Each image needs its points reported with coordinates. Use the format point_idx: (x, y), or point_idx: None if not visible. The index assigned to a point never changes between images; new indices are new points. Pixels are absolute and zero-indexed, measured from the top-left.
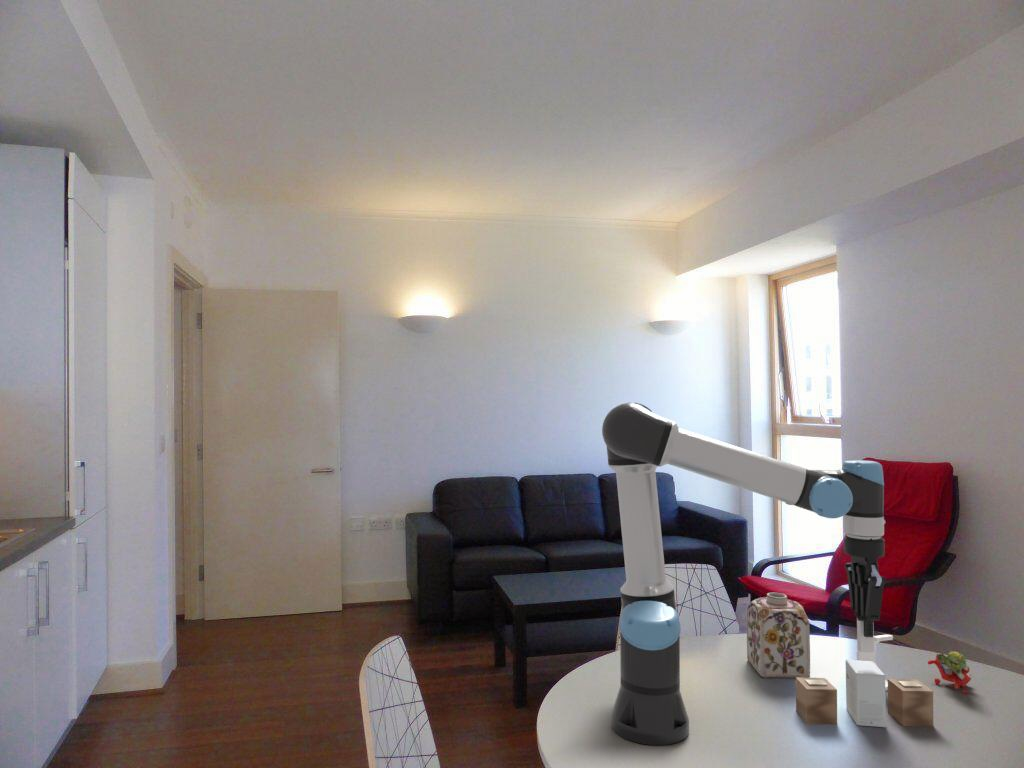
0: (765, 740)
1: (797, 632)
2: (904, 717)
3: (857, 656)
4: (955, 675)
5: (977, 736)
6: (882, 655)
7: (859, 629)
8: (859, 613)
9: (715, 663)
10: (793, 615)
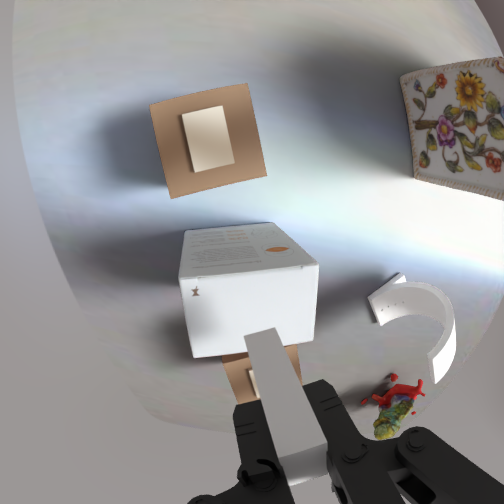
0: (70, 45)
1: (488, 162)
2: None
3: (436, 289)
4: (387, 403)
5: (212, 403)
6: (473, 314)
7: (275, 406)
8: (336, 473)
9: (429, 21)
10: None
